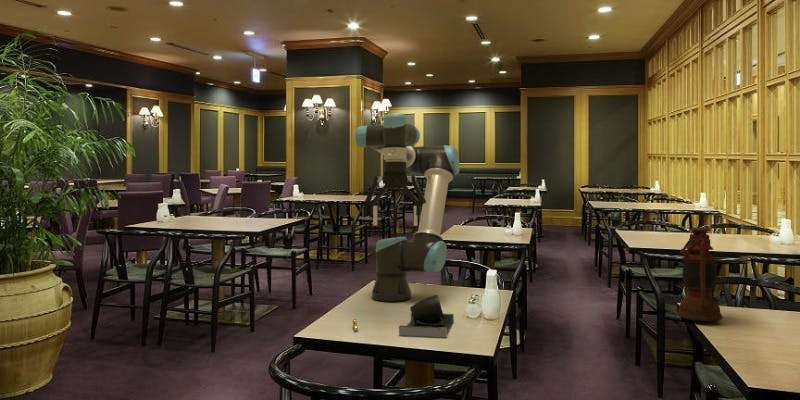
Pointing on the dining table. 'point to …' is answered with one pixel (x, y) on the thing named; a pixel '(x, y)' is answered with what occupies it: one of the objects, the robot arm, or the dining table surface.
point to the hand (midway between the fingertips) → (395, 225)
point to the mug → (428, 312)
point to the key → (355, 325)
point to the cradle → (428, 328)
